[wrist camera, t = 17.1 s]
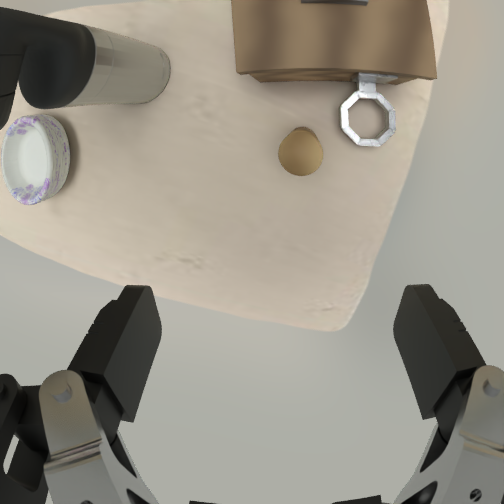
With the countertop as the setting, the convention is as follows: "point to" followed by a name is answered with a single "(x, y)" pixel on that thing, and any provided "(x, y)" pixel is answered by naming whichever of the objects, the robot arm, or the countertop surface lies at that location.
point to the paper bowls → (35, 158)
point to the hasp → (368, 91)
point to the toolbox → (333, 39)
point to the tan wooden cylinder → (300, 152)
